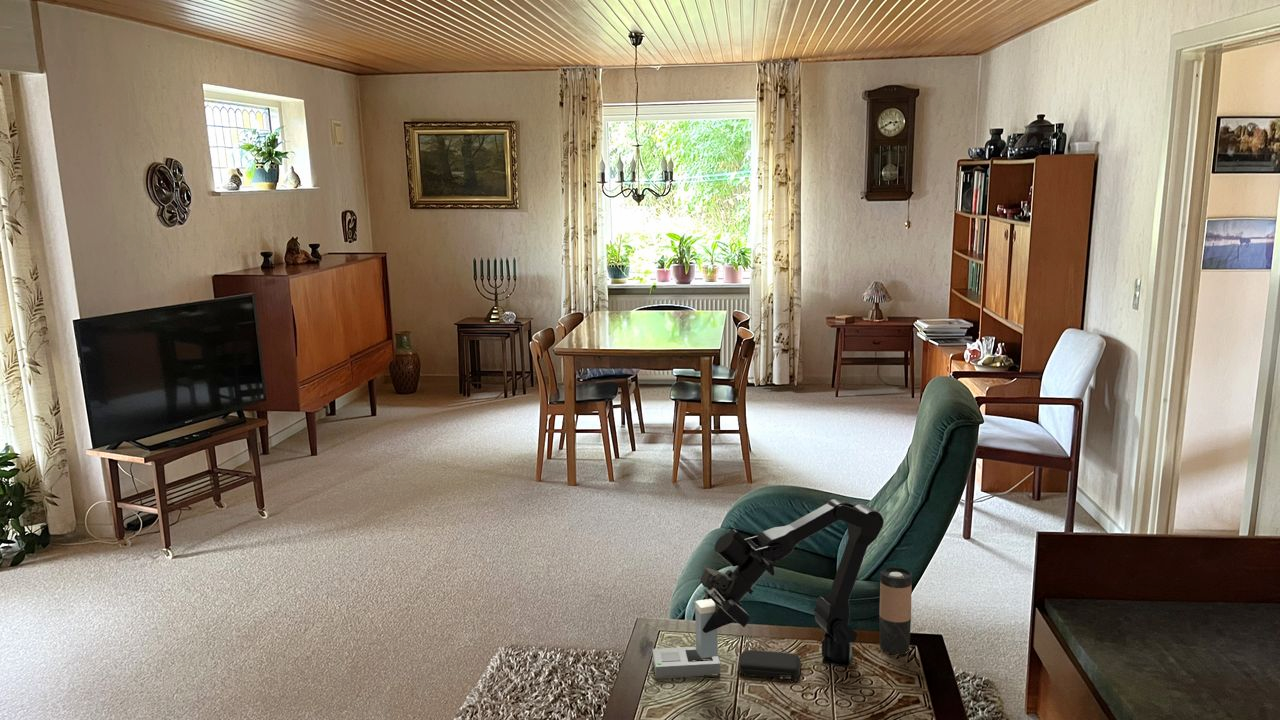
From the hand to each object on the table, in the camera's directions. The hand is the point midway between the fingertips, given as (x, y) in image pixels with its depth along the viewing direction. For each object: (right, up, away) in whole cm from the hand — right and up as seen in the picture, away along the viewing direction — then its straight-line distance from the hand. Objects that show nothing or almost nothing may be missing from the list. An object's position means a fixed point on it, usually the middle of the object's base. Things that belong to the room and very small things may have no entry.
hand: (700, 627), depth 206 cm
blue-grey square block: (+2, -6, +1) cm, 7 cm away
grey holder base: (-3, -12, +9) cm, 15 cm away
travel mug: (+50, -10, +16) cm, 54 cm away
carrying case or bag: (+17, -13, +7) cm, 22 cm away
